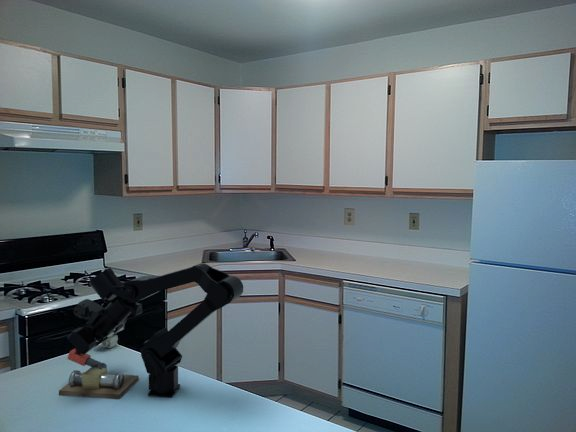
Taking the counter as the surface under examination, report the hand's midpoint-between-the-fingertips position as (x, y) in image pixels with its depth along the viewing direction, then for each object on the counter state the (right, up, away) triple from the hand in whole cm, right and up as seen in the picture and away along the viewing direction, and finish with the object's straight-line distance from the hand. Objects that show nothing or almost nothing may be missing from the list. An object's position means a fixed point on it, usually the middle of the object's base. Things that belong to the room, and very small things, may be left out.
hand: (77, 351), depth 120 cm
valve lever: (+8, -5, -1) cm, 9 cm away
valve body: (+7, -8, -4) cm, 12 cm away
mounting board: (+7, -9, -2) cm, 12 cm away
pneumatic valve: (-2, -7, +27) cm, 28 cm away
